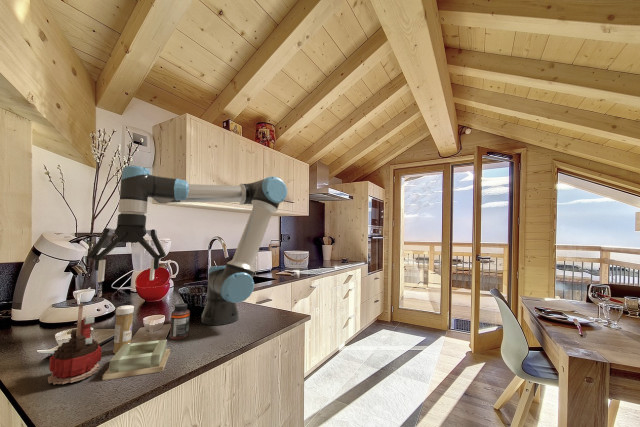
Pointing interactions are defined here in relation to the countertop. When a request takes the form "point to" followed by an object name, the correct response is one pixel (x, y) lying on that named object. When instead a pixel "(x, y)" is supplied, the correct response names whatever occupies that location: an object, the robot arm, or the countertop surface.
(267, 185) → the robot arm
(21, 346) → the countertop surface
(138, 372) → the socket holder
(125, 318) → the sprinkles bottle
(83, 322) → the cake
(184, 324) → the supplement bottle
